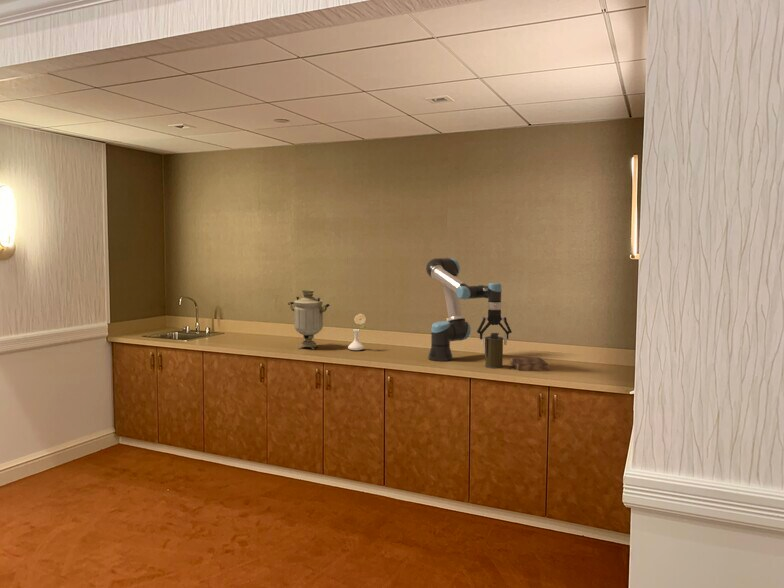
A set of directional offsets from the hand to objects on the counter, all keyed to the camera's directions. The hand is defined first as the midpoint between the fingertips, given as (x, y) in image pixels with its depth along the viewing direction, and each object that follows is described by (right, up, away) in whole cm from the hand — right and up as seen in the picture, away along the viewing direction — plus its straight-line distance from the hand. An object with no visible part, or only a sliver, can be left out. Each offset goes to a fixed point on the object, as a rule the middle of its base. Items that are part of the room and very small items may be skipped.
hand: (494, 344), depth 356 cm
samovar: (-116, -7, +63) cm, 133 cm away
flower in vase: (-84, -8, +53) cm, 100 cm away
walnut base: (+21, -13, 0) cm, 25 cm away
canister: (0, -13, +1) cm, 13 cm away
